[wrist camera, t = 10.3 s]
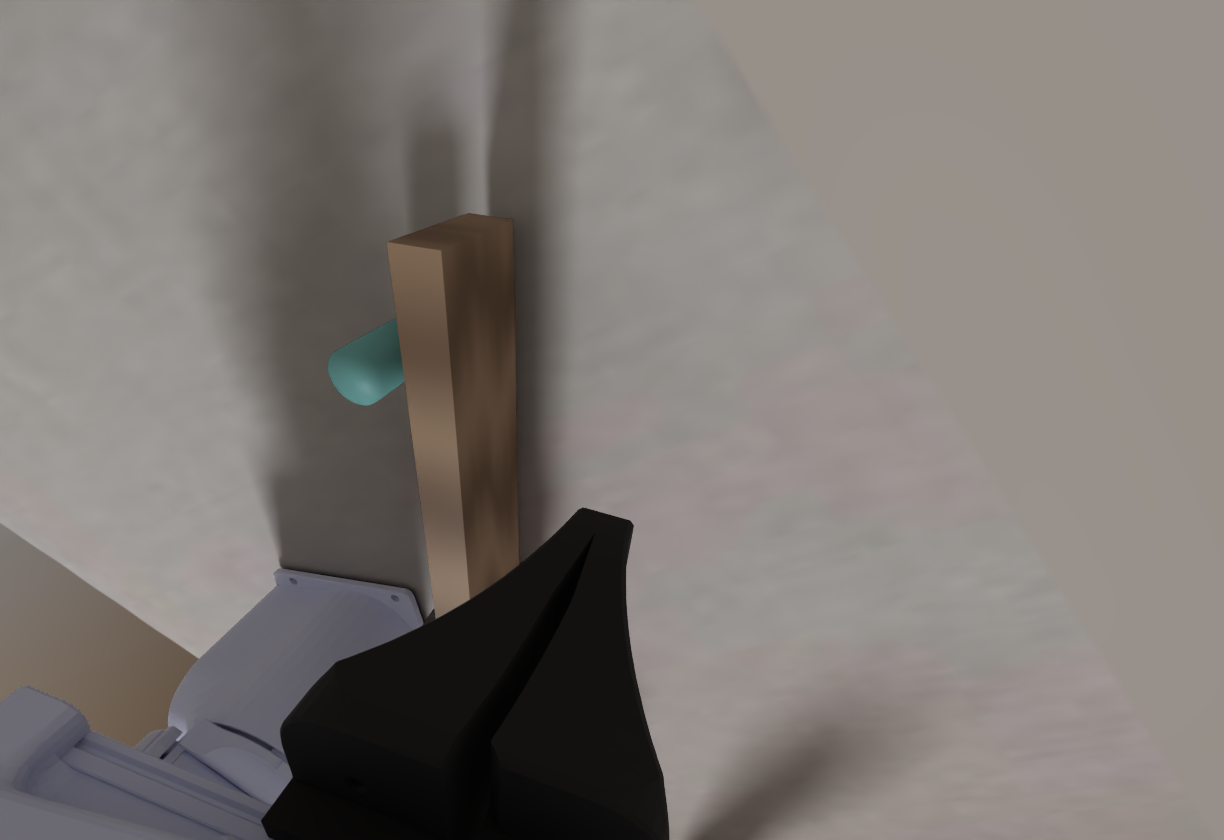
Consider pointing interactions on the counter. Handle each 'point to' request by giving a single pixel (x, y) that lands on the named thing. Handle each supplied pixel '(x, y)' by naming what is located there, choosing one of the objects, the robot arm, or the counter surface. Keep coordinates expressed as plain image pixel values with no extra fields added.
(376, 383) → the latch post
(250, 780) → the robot arm
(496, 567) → the wooden plank
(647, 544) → the counter surface
